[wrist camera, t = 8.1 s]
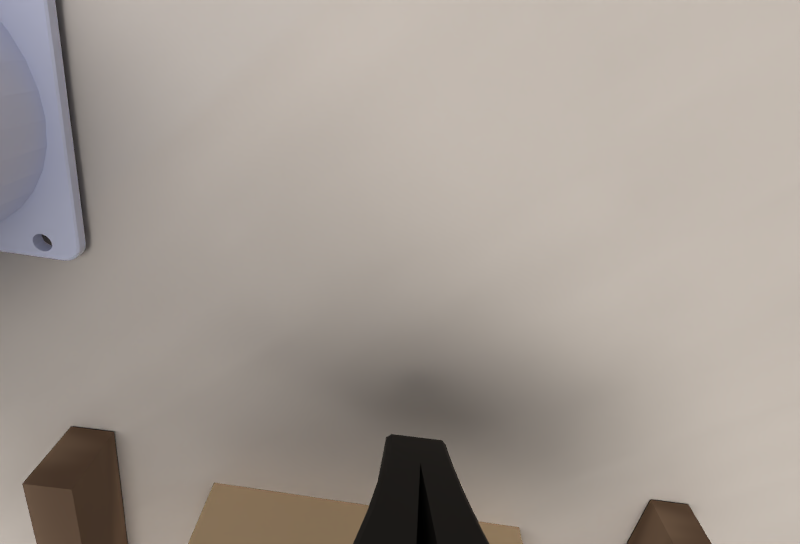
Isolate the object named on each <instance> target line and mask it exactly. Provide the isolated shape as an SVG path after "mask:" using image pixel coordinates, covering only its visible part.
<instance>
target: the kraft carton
mask: <svg viewBox="0 0 800 544" xmlns="http://www.w3.org/2000/svg"><path fill="white" fill-rule="evenodd" d="M368 508H369V505H362V504H356V503H349V502H342V501H335V500H328V499H322V498H315V497H308V496H301V495H294V494H287V493H281V492H274V491H267V490H260V489H253V488H247V487H240V486H233V485H226V484H219V483H214V484H213V487H212V489H211V491H210V494H209V496H208V498H207V501H206V503H205V505H204V508H203V510H202V512H201V515H200V517H199V519H198V522H197V524H196V526H195V529H194V531H193V533H192V536H191V538H190V540H189V543H188V544H353V542H354V540H355V538H356V536H357V533H358V531H359V529H360V526H361V524H362V522H363V520H364V517H365V515H366V513H367V510H368ZM478 523H479V525H480V527H481V529H482V531H483V532H484V534H485V536H486V538H487V540H488V542H489V544H523V543H522V539H521V534H520V530H519V527H512V526H506V525H499V524H492V523H485V522H478Z"/></svg>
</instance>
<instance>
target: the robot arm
mask: <svg viewBox="0 0 800 544" xmlns="http://www.w3.org/2000/svg"><path fill="white" fill-rule="evenodd" d="M42 235H45V236H47V237H48V238H49V239H50V241H51V243H52V246H51V245H49V244H47V243H46V242H45V241H44V240H43V238H42ZM85 246H86V241H85V233H84V225H83V217H82V209H81V201H80V193H79V185H78V177H77V170H76V162H75V154H74V146H73V138H72V130H71V122H70V114H69V106H68V98H67V90H66V82H65V74H64V66H63V59H62V51H61V43H60V35H59V27H58V19H57V11H56V3H55V0H0V251H1V252H8V253H15V254H22V255H28V256H35V257H42V258H49V259H56V260H63V261H67V260H72V259H75V258H76V257H78V256H79V255H81V254H82V253H83V252H84V250H85ZM353 544H489V542H488V540H487V538H486V536H485V534H484V532H483V531H482V529H481V527H480V525H479V523H478V520H477V518H476V516H475V514H474V512H473V510H472V508H471V506H470V504H469V502H468V500H467V498H466V495H465V493H464V491H463V489H462V486H461V484H460V482H459V479H458V477H457V474H456V472H455V469H454V467H453V464H452V462H451V459H450V456H449V454H448V451H447V448H446V445H445V444H444V442H443V441H442V440H434V439H426V438H418V437H409V436H401V435H393V434H391V435H390V436H388V437H386V442H385V447H384V452H383V457H382V462H381V468H380V473H379V478H378V483H377V485H376V488H375V491H374V494H373V497H372V499H371V502H370V505H369V508H368V510H367V513H366V515H365V517H364V520H363V522H362V524H361V526H360V529H359V531H358V533H357V536H356V538H355V540H354V542H353Z"/></svg>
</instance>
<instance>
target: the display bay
mask: <svg viewBox="0 0 800 544" xmlns="http://www.w3.org/2000/svg"><path fill="white" fill-rule="evenodd" d="M23 488H24V492H25V497H26V501H27V505H28V509H29V513H30V517H31V522H32V526H33V530H34V534H35V538H36V542H37V544H127V535H126V527H125V519H124V510H123V502H122V494H121V486H120V477H119V469H118V461H117V453H116V444H115V436H114V432H110V431H102V430H94V429H86V428H78V427H70V428H69V430H68V431H67V432H66V433H65V434H64V436H63V437H62V438H61V439H60V440H59V441H58V443H57V444H56V445H55V446H54V447H53V448H52V450H51V451H50V452H49V453H48V454H47V456H46V457H45V458H44V459H43V460H42V461H41V463H40V464H39V465H38V466H37V467H36V468H35V470H34V471H33V472H32V473H31V474H30V476H29V477H28V478H27V479H26V480H25V481H24V483H23ZM627 544H711V542H710V540H709V539H708V537H707V535H706V534H705V532H704V530H703V529H702V527H701V525H700V523H699V522H698V520H697V518H696V517H695V515H694V513H693V512H692V510H691V508H690V507H689V505H687V504H679V503H671V502H663V501H655V500H650V502H649V504H648V506H647V508H646V509H645V511H644V513H643V515H642V517H641V519H640V521H639V522H638V524H637V526H636V528H635V530H634V532H633V534H632V536H631V537H630V539H629V541H628V543H627Z"/></svg>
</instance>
